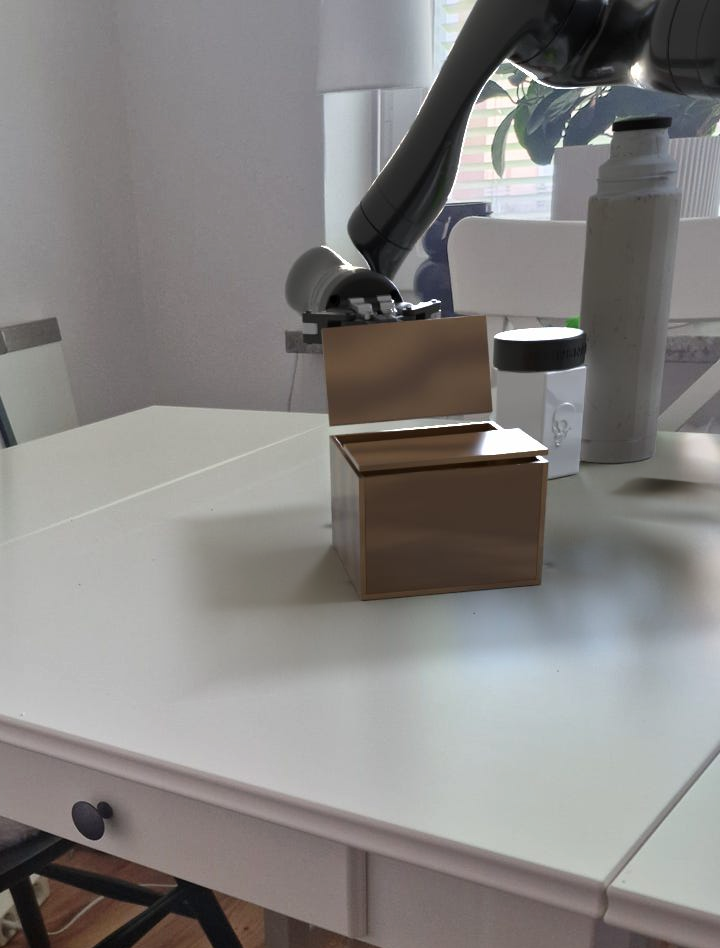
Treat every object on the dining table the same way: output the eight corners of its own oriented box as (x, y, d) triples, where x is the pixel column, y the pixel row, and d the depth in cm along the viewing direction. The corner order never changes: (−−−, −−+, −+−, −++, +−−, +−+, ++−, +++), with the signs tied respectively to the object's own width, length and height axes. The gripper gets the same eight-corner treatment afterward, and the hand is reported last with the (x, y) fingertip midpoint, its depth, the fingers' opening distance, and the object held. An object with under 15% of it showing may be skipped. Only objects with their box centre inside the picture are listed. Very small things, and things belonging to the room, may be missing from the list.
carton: (332, 543, 94) (328, 424, 90) (488, 529, 94) (493, 410, 90) (360, 600, 81) (358, 466, 77) (541, 584, 82) (549, 449, 77)
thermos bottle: (556, 450, 117) (578, 122, 103) (631, 442, 118) (663, 116, 103) (590, 466, 110) (618, 118, 96) (669, 457, 111) (709, 111, 97)
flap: (329, 425, 89) (329, 426, 90) (492, 411, 90) (491, 412, 90) (321, 328, 89) (321, 330, 89) (486, 314, 89) (484, 316, 89)
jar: (521, 486, 105) (528, 344, 99) (467, 471, 112) (471, 336, 106) (598, 470, 109) (610, 331, 102) (542, 456, 115) (550, 324, 109)
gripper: (285, 274, 108) (307, 289, 93) (426, 262, 108) (470, 276, 93) (289, 360, 112) (310, 389, 97) (425, 349, 112) (467, 375, 97)
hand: (389, 333), depth 95 cm, fingers closed
